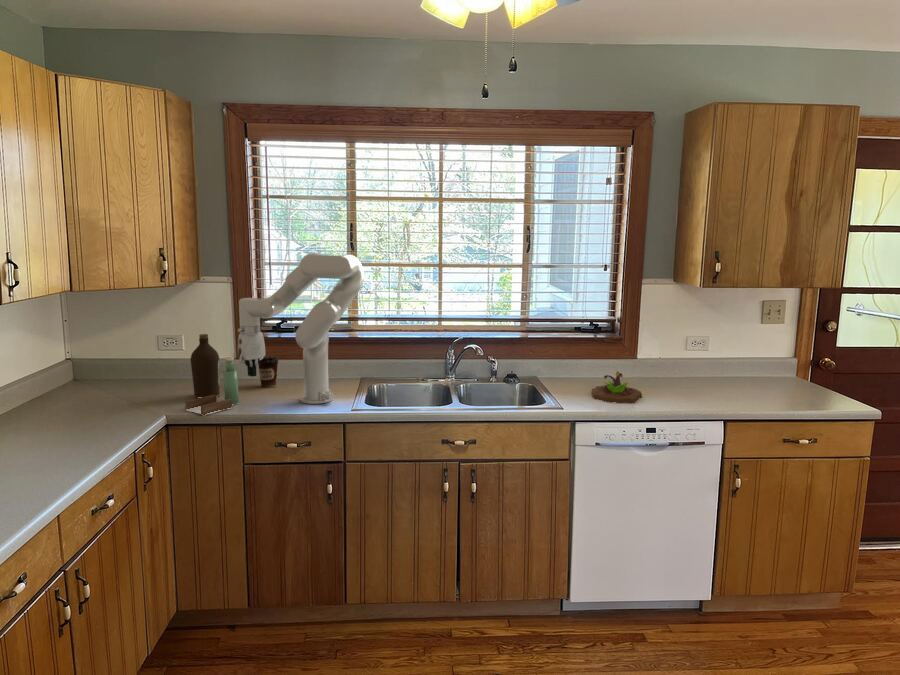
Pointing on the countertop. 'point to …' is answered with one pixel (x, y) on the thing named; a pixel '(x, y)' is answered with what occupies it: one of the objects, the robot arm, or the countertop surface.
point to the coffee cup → (268, 371)
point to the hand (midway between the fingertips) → (252, 375)
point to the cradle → (209, 404)
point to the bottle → (231, 381)
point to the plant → (616, 391)
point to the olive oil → (205, 369)
